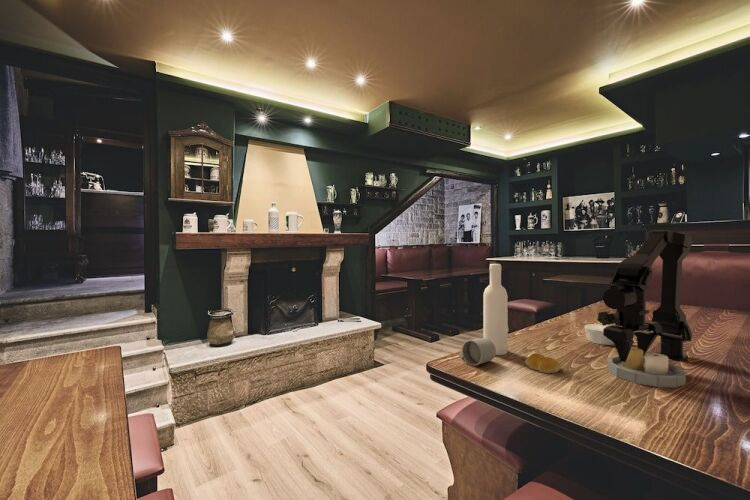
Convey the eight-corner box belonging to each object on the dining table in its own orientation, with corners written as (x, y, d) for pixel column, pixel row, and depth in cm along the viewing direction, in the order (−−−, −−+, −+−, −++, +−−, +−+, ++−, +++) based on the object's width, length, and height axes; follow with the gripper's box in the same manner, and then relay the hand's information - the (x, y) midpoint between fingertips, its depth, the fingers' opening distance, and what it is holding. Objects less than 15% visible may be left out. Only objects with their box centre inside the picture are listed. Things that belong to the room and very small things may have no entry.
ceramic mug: (497, 362, 108) (497, 338, 108) (481, 369, 103) (481, 343, 103) (470, 354, 117) (469, 331, 117) (453, 359, 112) (453, 336, 112)
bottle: (500, 357, 113) (500, 265, 112) (478, 351, 119) (478, 264, 118) (512, 351, 119) (512, 264, 118) (491, 346, 125) (491, 262, 124)
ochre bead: (627, 362, 104) (628, 345, 104) (646, 367, 100) (647, 350, 99) (617, 365, 102) (618, 348, 102) (637, 371, 97) (637, 353, 97)
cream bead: (650, 368, 99) (650, 351, 99) (671, 375, 94) (672, 356, 94) (640, 372, 97) (640, 354, 96) (661, 378, 92) (662, 359, 92)
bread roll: (552, 376, 98) (552, 362, 98) (522, 367, 105) (522, 354, 105) (565, 369, 103) (565, 356, 103) (535, 361, 110) (535, 348, 110)
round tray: (628, 359, 110) (628, 351, 109) (697, 379, 94) (697, 369, 94) (594, 369, 102) (594, 360, 102) (663, 392, 87) (663, 382, 86)
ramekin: (628, 346, 123) (628, 331, 123) (596, 346, 123) (596, 331, 123) (607, 337, 134) (607, 323, 134) (578, 337, 134) (578, 324, 134)
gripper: (621, 298, 111) (621, 346, 112) (585, 304, 103) (584, 355, 104) (663, 304, 101) (662, 357, 102) (625, 310, 93) (625, 368, 94)
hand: (632, 359), depth 101 cm, fingers open, 9 cm apart
